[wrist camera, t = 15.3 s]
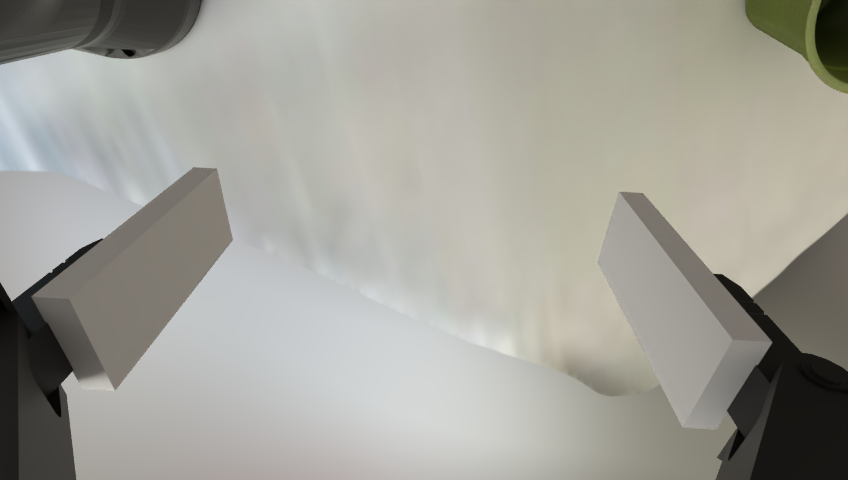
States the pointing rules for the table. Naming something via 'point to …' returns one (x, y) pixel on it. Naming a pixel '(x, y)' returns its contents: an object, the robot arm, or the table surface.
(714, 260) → the table surface
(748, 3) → the plant pot
